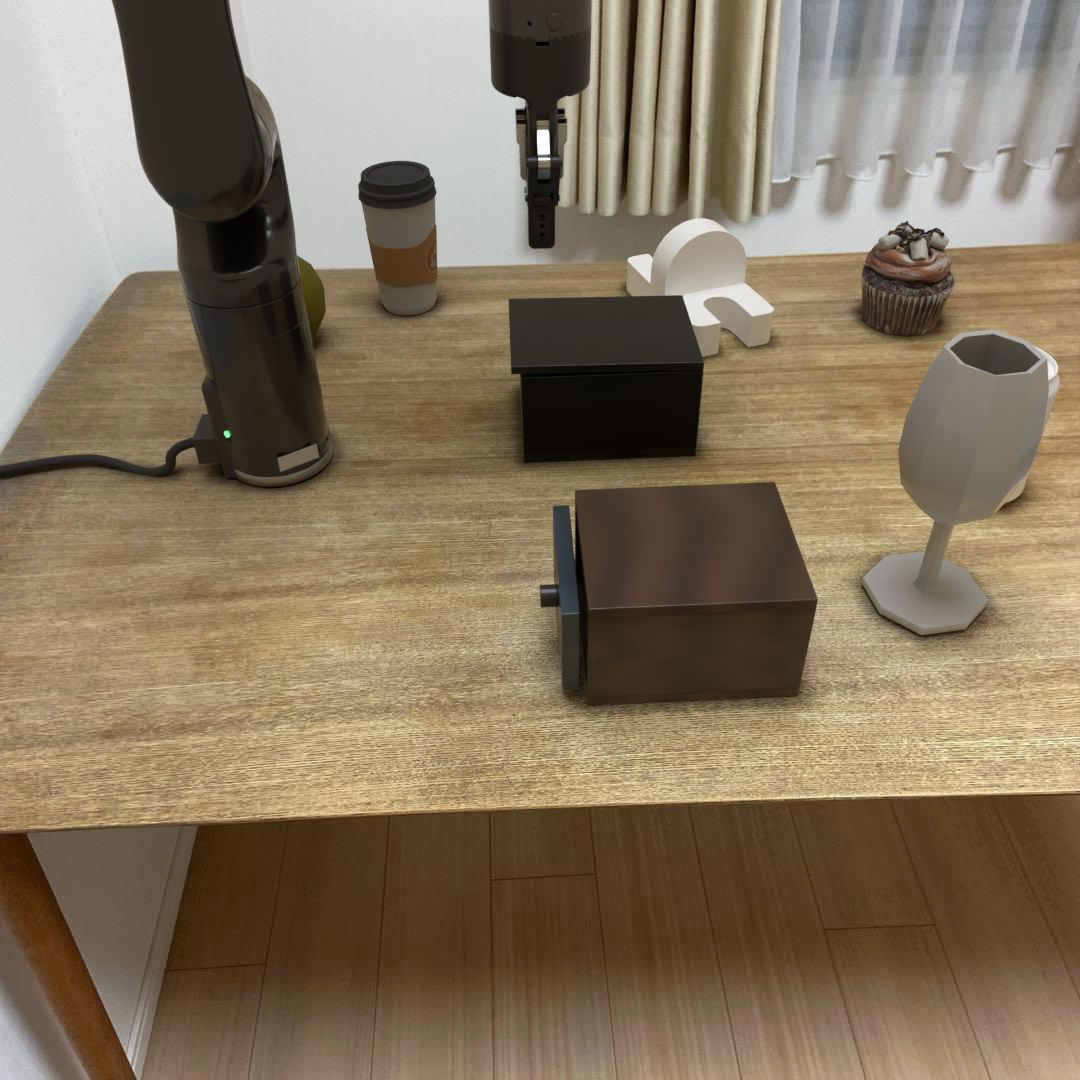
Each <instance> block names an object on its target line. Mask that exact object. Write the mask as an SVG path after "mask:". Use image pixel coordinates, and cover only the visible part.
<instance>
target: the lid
mask: <svg viewBox="0 0 1080 1080" xmlns="http://www.w3.org/2000/svg"><path fill="white" fill-rule="evenodd" d="M508 321H509V351H510V352H509V353H510V354H509V355H510V374H511V375H520V374H550V373H595V372H639V371H684V370H703V371H704V368H705V361H704V357H702V354H701V351H700V348H699V345H698V342H697V339H696V336H695V333H694V330H693V327H692V323H691V320H690V317H689V314H688V311H687V308H686V305H685V302H684V299H683V296H682V295H667V296H631V295H627V296H623V295H622V296H621V295H619V296H575V297H574V296H573V297H571V296H570V297H569V296H568V297H527V298H524V297H522V298H520V297H519V298H508Z"/></svg>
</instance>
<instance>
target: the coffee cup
mask: <svg viewBox="0 0 1080 1080" xmlns="http://www.w3.org/2000/svg"><path fill="white" fill-rule="evenodd" d="M357 188H358V195H357V196H358V201H360V202H361V207H362V208H361V209H362V212H363V213H362V214H363V218H364V222H365V223H364V224H365V231H366V236H367V241H368V246H369V251H370V256H371V260H372V265H373V270H374V271H373V272H374V276H375V281H376V282H377V286H378V292H379V296H380V302H381V304H382V305H383V306H384V309H385V310H386V311H387V312H388V313H391V314H394V315H398V316H417V315H420V314H423V313H426V312H428V311H430V310H431V309H432V308H433V307H435V304H436V301H437V299H438V237H437V236H438V235H437V234H438V233H437V224H436V223H437V222H436V195H437V189H436V182H435V178H434V177H433V176H432V175H431V170H430V168H429V167H428V166H427V165H426V164H423V163H421V162H417V161H410V160H389V161H388V160H387V161H383V162H379V163H375V164H371V165H370V166H367V167H365V168H364V169H363V170H362V171H361V173H360V181H359V183H358V184H357Z"/></svg>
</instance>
